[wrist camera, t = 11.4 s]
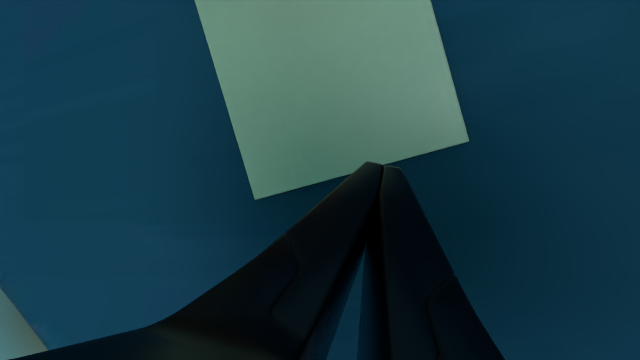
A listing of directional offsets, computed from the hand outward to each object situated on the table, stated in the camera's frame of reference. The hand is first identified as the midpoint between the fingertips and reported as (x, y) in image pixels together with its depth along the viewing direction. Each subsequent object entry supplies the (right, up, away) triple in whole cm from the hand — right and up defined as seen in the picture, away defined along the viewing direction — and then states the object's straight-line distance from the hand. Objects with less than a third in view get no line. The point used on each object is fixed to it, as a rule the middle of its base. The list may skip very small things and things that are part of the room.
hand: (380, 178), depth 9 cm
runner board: (-2, +7, +12) cm, 14 cm away
